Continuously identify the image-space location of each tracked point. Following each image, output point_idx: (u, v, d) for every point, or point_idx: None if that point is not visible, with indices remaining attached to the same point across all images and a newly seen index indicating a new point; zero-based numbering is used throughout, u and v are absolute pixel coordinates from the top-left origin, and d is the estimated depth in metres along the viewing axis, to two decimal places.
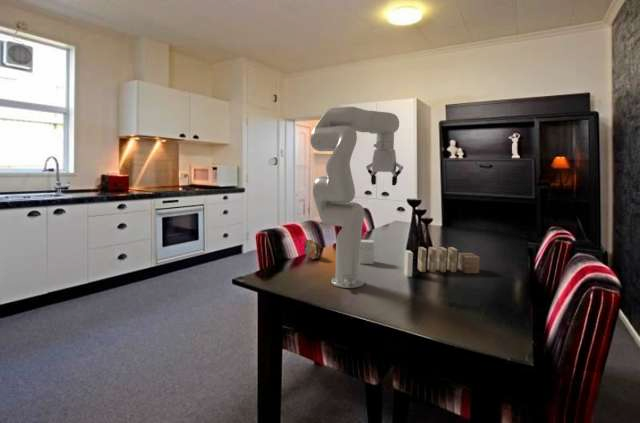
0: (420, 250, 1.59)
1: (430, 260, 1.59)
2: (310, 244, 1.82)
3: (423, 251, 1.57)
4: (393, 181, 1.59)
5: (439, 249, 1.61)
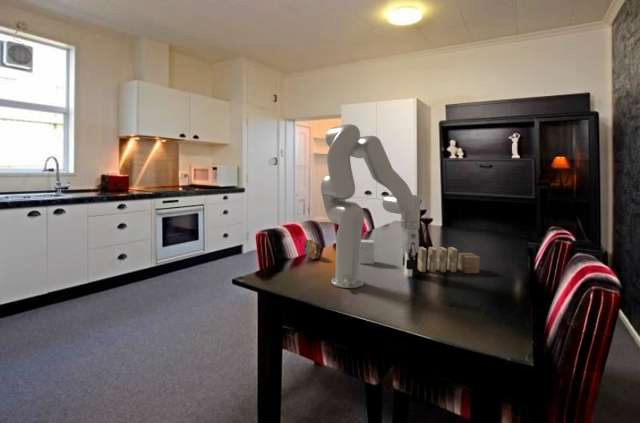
0: (420, 250, 1.59)
1: (430, 260, 1.59)
2: (310, 244, 1.82)
3: (423, 251, 1.57)
4: None
5: (439, 249, 1.61)
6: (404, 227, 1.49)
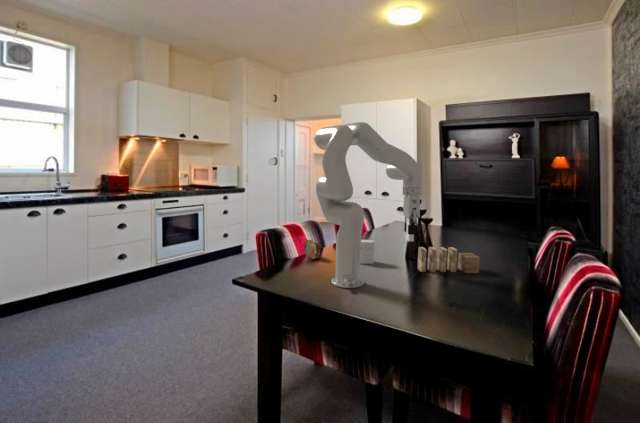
0: (420, 250, 1.59)
1: (430, 260, 1.59)
2: (310, 244, 1.82)
3: (423, 251, 1.57)
4: None
5: (439, 249, 1.61)
6: (406, 193, 1.54)
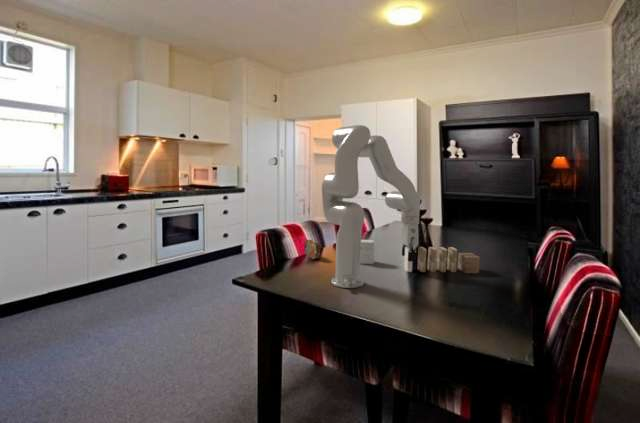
0: (420, 250, 1.59)
1: (430, 260, 1.59)
2: (310, 244, 1.82)
3: (423, 251, 1.57)
4: None
5: (439, 249, 1.61)
6: (404, 222, 1.56)
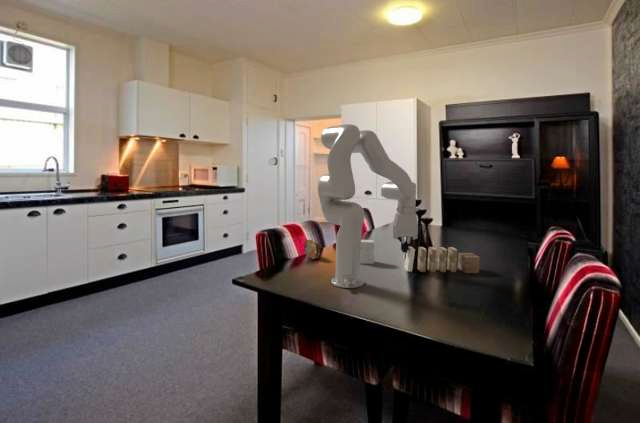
0: (420, 250, 1.59)
1: (430, 260, 1.59)
2: (310, 244, 1.82)
3: (423, 251, 1.57)
4: None
5: (439, 249, 1.61)
6: (413, 213, 1.55)
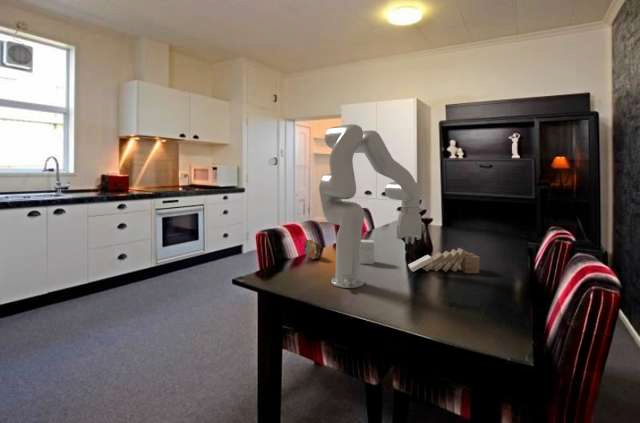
0: (439, 254, 1.59)
1: None
2: (310, 244, 1.82)
3: (441, 256, 1.58)
4: None
5: (453, 251, 1.61)
6: (417, 213, 1.55)
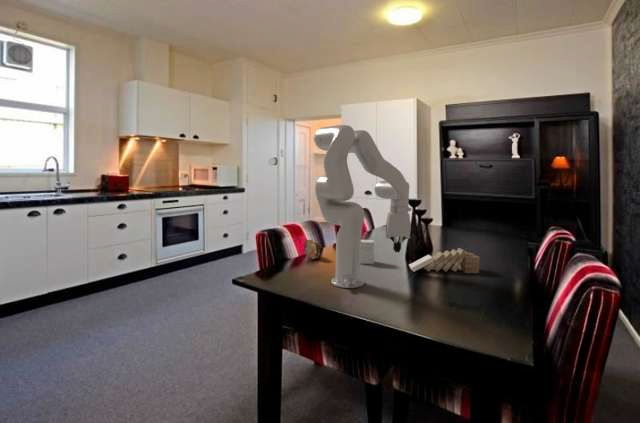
0: (440, 254, 1.59)
1: None
2: (310, 244, 1.82)
3: (442, 256, 1.58)
4: None
5: (453, 251, 1.61)
6: (405, 213, 1.54)
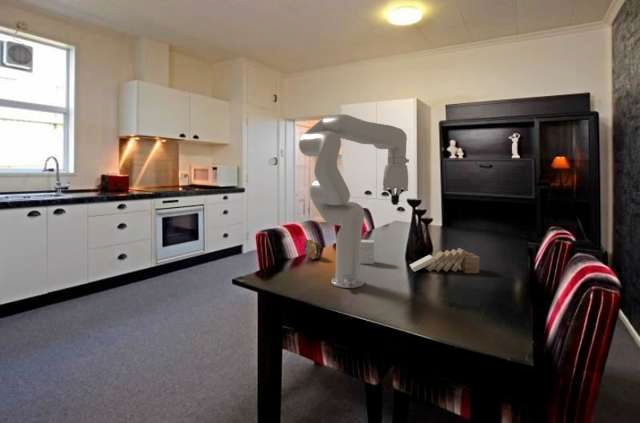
0: (441, 253, 1.59)
1: None
2: (310, 244, 1.82)
3: (443, 255, 1.58)
4: None
5: (453, 250, 1.61)
6: (403, 163, 1.52)
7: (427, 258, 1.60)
